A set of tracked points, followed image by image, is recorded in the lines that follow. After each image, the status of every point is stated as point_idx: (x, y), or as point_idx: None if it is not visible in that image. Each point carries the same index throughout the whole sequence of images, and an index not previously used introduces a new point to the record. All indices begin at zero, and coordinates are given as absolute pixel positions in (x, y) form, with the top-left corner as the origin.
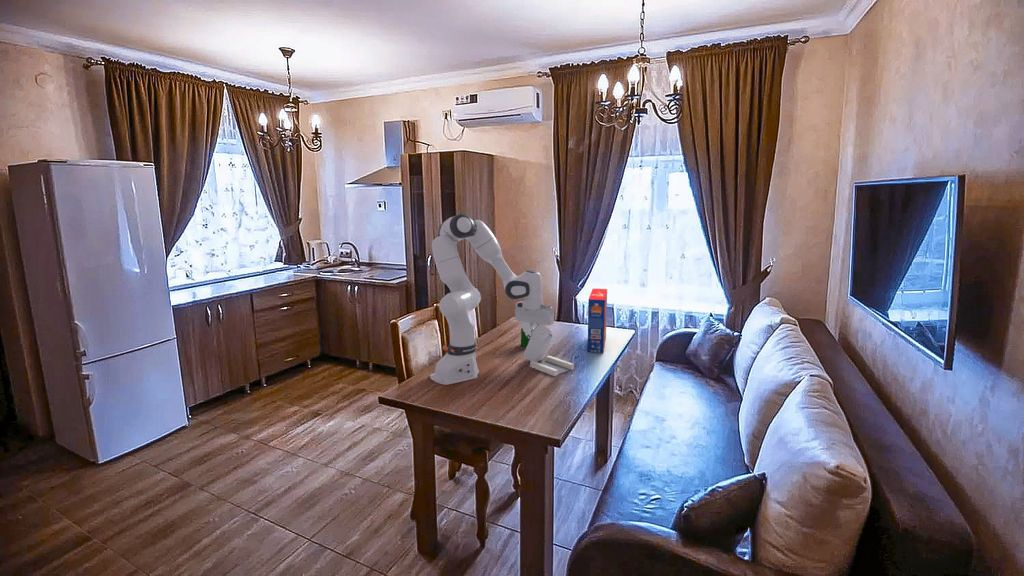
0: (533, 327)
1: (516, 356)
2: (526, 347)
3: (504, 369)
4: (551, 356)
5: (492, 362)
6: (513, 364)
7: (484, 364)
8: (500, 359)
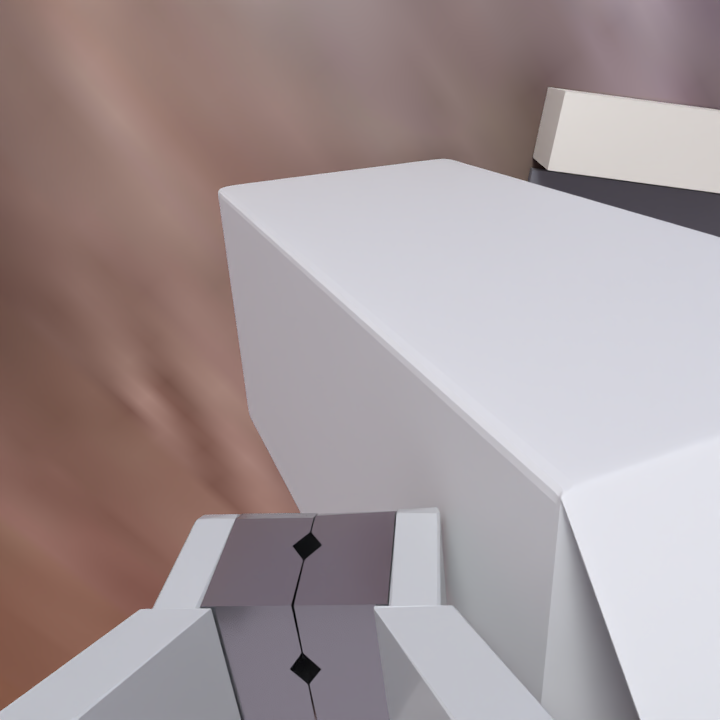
0: (213, 672)
1: (46, 264)
2: (297, 504)
3: None
4: (630, 106)
5: (31, 580)
6: (248, 504)
7: (27, 655)
8: (6, 468)
